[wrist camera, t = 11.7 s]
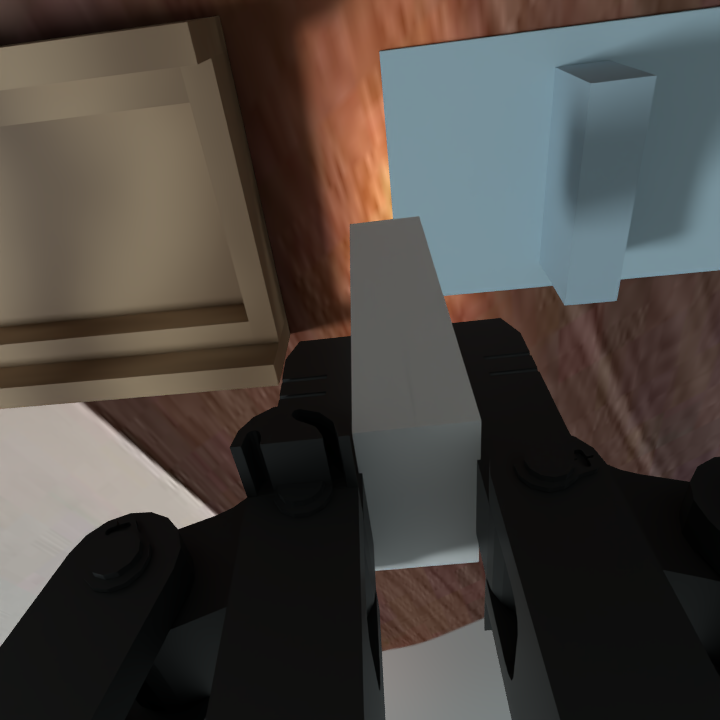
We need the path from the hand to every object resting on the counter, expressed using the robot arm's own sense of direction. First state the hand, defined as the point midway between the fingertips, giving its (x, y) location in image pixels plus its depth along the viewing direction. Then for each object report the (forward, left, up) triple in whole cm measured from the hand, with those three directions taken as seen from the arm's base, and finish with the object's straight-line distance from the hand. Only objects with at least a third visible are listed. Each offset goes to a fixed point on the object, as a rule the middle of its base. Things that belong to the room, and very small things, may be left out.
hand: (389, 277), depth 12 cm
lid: (+7, 0, -8) cm, 11 cm away
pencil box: (-12, 0, -7) cm, 14 cm away
